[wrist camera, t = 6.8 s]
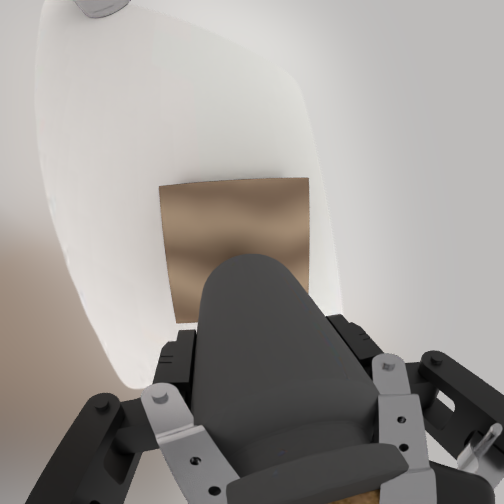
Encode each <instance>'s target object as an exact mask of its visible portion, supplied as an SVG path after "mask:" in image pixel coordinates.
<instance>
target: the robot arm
mask: <svg viewBox="0 0 504 504" xmlns="http://www.w3.org/2000/svg"><path fill="white" fill-rule="evenodd" d="M73 1H74V2H75V3H76V4H77V5H78V6H79V7H80V9H81V10H82V11H83V12H84V13H85V14H86V15H87V16H88V17H92V18H100V17H104V16H107V15H110V14H112V13H114V12H116V11H118V10H119V9H121V8H122V7H124V6H125V5H126V4H128V3H129V1H131V0H73ZM326 318H327V320H328V321H329V322H330V324H331V325H332V326H333V328H334V329H335V330H336V332H337V333H338V334H339V336H340V337H341V338H342V340H343V341H344V342H345V344H346V345H347V346H348V348H349V349H350V350H351V352H352V353H353V355H354V356H355V357H356V359H357V360H358V362H359V363H360V364H361V366H362V367H363V369H364V370H365V372H366V373H367V374H368V376H369V377H370V379H371V380H372V381H373V383H374V384H375V386H376V388H377V389H378V391H379V393H380V394H379V395H378V400H377V406H376V412H375V416H374V420H373V424H372V426H373V427H374V432H373V436H372V440H371V442H370V443H371V444H373V443H386V444H392V445H395V446H396V447H397V448H398V449H399V448H400V449H401V450H402V451H400V450H399V451H400V452H401V454H402V455H403V457H404V458H405V460H406V461H407V463H408V465H409V468H408V470H407V471H405V472H403V473H401V474H399V475H397V476H395V477H394V478H392V479H390V480H388V481H386V482H384V483H383V484H381V485H380V487H379V489H378V495H379V504H495V494H494V488H495V487H496V486H497V485H498V484H499V482H500V481H501V480H502V479H503V477H504V395H503V394H501V393H500V392H498V391H497V390H495V389H494V388H493V387H492V386H490V385H489V384H487V383H486V382H484V381H483V380H482V379H480V378H479V377H478V376H476V375H475V374H473V373H472V372H470V371H469V370H468V369H466V368H465V367H463V366H462V365H460V364H459V363H457V362H456V361H455V360H453V359H452V358H450V357H449V356H447V355H446V354H444V353H442V352H440V351H428V352H425V353H424V354H423V355H422V358H421V361H420V362H414V363H404V361H403V359H401V358H400V357H399V356H397V355H394V354H389V353H384V352H383V351H382V350H381V349H380V348H379V347H378V346H377V345H376V344H375V342H374V341H373V340H372V339H370V337H369V336H368V334H366V332H365V331H364V330H363V329H362V328H361V327H360V326H358V325H356V324H354V323H352V322H351V323H349V322H348V321H347V320H346V319H345V318H344V317H343V315H341V314H338V315H331V316H326ZM196 337H197V334H196V330H179V332H178V336H177V341H172V342H167V343H166V345H165V346H164V347H163V348H162V350H161V354H160V357H159V361H158V365H157V368H156V372H155V376H154V380H153V384H152V385H150V386H148V387H147V388H146V389H144V391H143V392H142V394H141V397H140V398H138V399H134V400H129V401H124V402H120V401H119V399H118V398H117V397H116V396H115V395H113V394H110V393H100V394H97V395H95V396H93V397H91V398H90V399H89V400H88V401H87V402H86V404H85V405H84V407H83V408H82V410H81V412H80V413H79V415H78V416H77V418H76V419H75V421H74V422H73V424H72V425H71V427H70V428H69V430H68V431H67V433H66V435H65V436H64V438H63V439H62V441H61V443H60V444H59V446H58V447H57V449H56V451H55V452H54V454H53V456H52V457H51V459H50V460H49V462H48V464H47V465H46V467H45V469H44V470H43V472H42V474H41V476H40V477H39V479H38V481H37V483H36V485H35V486H34V488H33V490H32V491H31V493H30V495H29V497H28V499H27V501H26V503H25V504H123V503H124V501H125V498H126V495H127V492H128V490H129V487H130V484H131V482H132V479H133V476H134V474H135V471H136V468H137V466H138V463H139V460H140V458H141V455H142V453H143V452H144V451H148V450H154V449H159V448H160V450H161V451H162V454H163V456H164V458H165V460H166V462H167V464H168V466H169V468H170V470H171V472H172V474H173V476H174V478H175V480H176V482H177V484H178V486H179V487H180V489H181V491H182V493H183V495H184V497H185V498H186V500H187V501H188V504H227V498H226V486H227V484H229V483H230V482H232V481H235V480H237V479H240V477H239V476H238V475H237V473H236V472H235V471H234V469H233V468H232V467H231V465H230V464H229V463H228V461H227V460H226V459H225V457H224V456H223V454H222V453H221V452H220V450H219V449H218V447H217V446H216V445H215V443H214V442H213V440H212V439H211V437H210V436H209V434H208V433H207V431H206V430H205V428H204V427H203V426H202V425H201V424H198V425H195V426H194V423H193V422H194V417H193V415H192V414H191V399H192V384H193V371H194V359H195V348H196ZM439 390H440V391H442V392H443V393H444V394H445V395H446V396H448V397H449V398H450V399H451V400H453V402H454V404H455V411H454V412H453V411H452V410H451V409H449V408H448V407H447V406H446V405H445V404H443V403H442V402H441V401H440V400H439V399H438V398H436V397H437V395H438V393H439ZM425 430H426V431H427V432H428V433H429V434H430V435H431V436H432V437H433V438H434V439H435V440H436V441H437V442H438V443H439V444H440V445H441V446H442V447H443V448H444V449H445V450H446V451H447V452H448V453H450V454H451V455H452V456H453V457H454V458H455V459H456V460H457V464H458V468H457V469H455V468H451V467H448V466H445V465H441V464H439V463H436V462H433V461H430V460H429V459H428V449H427V441H426V435H425ZM218 490H220V491H221V493H220V494H219V495H217V496H213V494H214V493H215V492H216V491H218Z"/></svg>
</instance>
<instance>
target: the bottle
mask: <svg viewBox="0 0 504 504" xmlns="http://www.w3.org/2000/svg"><path fill="white" fill-rule="evenodd" d="M379 394H380V393H379V391H378V389H377V388H376V386H375V384H374V383H373V381H372V380H371V379H370V377H369V376H368V374H367V373H366V372H365V370H364V369H363V367H362V366H361V364H360V363H359V362H358V360H357V359H356V357H355V356H354V355H353V353H352V352H351V350H350V349H349V348H348V346H347V345H346V344H345V342H344V341H343V340H342V338H341V337H340V336H339V334H338V333H337V332H336V330H335V329H334V328H333V326H332V325H331V324H330V322H329V321H328V320H327V318H326V317H325V316H324V314H323V313H322V312H321V310H320V309H319V308H318V306H317V305H316V304H315V302H314V301H313V300H312V298H311V297H310V296H309V295H308V293H307V292H306V291H305V289H304V288H303V287H302V285H301V284H300V283H299V281H298V280H297V279H296V278H295V277H294V275H293V274H292V273H291V272H290V271H289V270H288V269H287V268H286V267H285V266H284V265H283V264H282V263H280V262H279V261H278V260H276V259H274V258H271V257H269V256H266V255H262V254H243V255H238V256H234V257H232V258H230V259H228V260H226V261H224V262H223V263H221V264H220V265H219V266H217V267H216V268H215V269H214V270H213V271H212V272H211V274H210V275H209V277H208V278H207V280H206V282H205V284H204V287H203V291H202V296H201V301H200V309H199V318H198V327H197V337H196V348H195V359H194V371H193V384H192V399H191V414H192V415H193V417H194V422H193V423H194V426H195V425H198V424H201V425H202V426H203V427H204V428H205V430H206V431H207V433H208V434H209V436H210V437H211V439H212V440H213V442H214V443H215V445H216V446H217V447H218V449H219V450H220V452H221V453H222V454H223V456H224V457H225V459H226V460H227V461H228V463H229V464H230V465H231V467H232V468H233V469H234V471H235V472H236V473H237V475H238V476H239V477H240V479H237V480H235V481H232V482H230V483H229V484H227V486H226V498H227V504H379V495H378V489H379V487H380V485H381V484H383V483H384V482H386V481H388V480H390V479H392V478H394V477H395V476H397V475H399V474H401V473H403V472H405V471H407V470H408V468H409V465H408V463H407V461H406V460H405V458H404V457H403V455H402V454H401V452H400V451H402V450H401V449H400V448H399V449H398V448H397V447H396V446H395V445H392V444H386V443H373V444H371V443H370V442H371V440H372V436H373V432H374V427H373V426H372V424H373V420H374V416H375V412H376V406H377V400H378V395H379ZM399 450H400V451H399ZM220 493H221V491H220V490H218V491H216V492H215V493H214V494H213V496H217V495H219V494H220Z"/></svg>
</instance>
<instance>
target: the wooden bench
mask: <svg viewBox="0 0 504 504" xmlns="http://www.w3.org/2000/svg"><path fill="white" fill-rule="evenodd" d="M159 195H160V207H161V218H162V228H163V237H164V246H165V254H166V261H167V269H168V276H169V282H170V289H171V295H172V301H173V307H174V313H175V318H176V323H195V322H198V318H199V309H200V301H201V296H202V291H203V287H204V284H205V282H206V280H207V278H208V277H209V275H210V274H211V272H212V271H213V270H214V269H215V268H216V267H217V266H219V265H220V264H221V263H223V262H224V261H226V260H228V259H230V258H232V257H234V256H238V255H243V254H262V255H266V256H269V257H271V258H274V259H276V260H278V261H279V262H280V263H282V264H283V265H284V266H285V267H286V268H287V269H288V270H289V271H290V272H291V273H292V274H293V275H294V277H295V278H296V279H297V280H298V281H299V283H300V284H301V285H302V287H303V288H304V289H305V291H306V292H307V293H308V289H309V178H266V179H242V180H225V181H210V182H197V183H186V184H175V185H166V186H159Z"/></svg>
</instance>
